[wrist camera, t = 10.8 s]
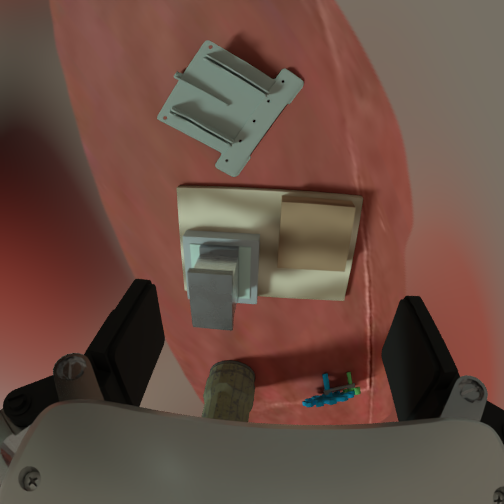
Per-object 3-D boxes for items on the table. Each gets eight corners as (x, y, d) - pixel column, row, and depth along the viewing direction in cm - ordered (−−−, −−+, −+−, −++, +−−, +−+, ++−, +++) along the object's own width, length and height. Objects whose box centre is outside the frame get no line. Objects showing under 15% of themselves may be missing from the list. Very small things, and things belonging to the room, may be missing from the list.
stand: (281, 195, 39) (281, 201, 37) (351, 200, 39) (355, 207, 37) (277, 258, 44) (277, 267, 41) (341, 262, 43) (344, 271, 41)
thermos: (267, 387, 58) (252, 559, 28) (209, 389, 60) (175, 549, 29) (259, 358, 54) (239, 553, 24) (196, 361, 56) (149, 538, 25)
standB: (186, 230, 43) (182, 237, 41) (260, 234, 42) (259, 241, 40) (191, 290, 47) (187, 299, 45) (257, 295, 47) (256, 304, 45)
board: (179, 185, 41) (176, 187, 40) (361, 195, 39) (363, 198, 39) (186, 286, 48) (184, 290, 47) (342, 296, 47) (343, 300, 46)
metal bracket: (139, 133, 33) (210, 20, 26) (147, 122, 37) (209, 24, 31) (244, 187, 39) (316, 89, 32) (238, 169, 43) (301, 83, 37)
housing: (200, 244, 41) (187, 272, 35) (239, 246, 41) (231, 275, 35) (204, 294, 45) (192, 326, 39) (238, 297, 44) (232, 330, 38)
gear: (301, 404, 58) (305, 413, 48) (297, 377, 60) (300, 381, 50) (354, 392, 58) (367, 399, 48) (349, 365, 60) (362, 367, 50)
